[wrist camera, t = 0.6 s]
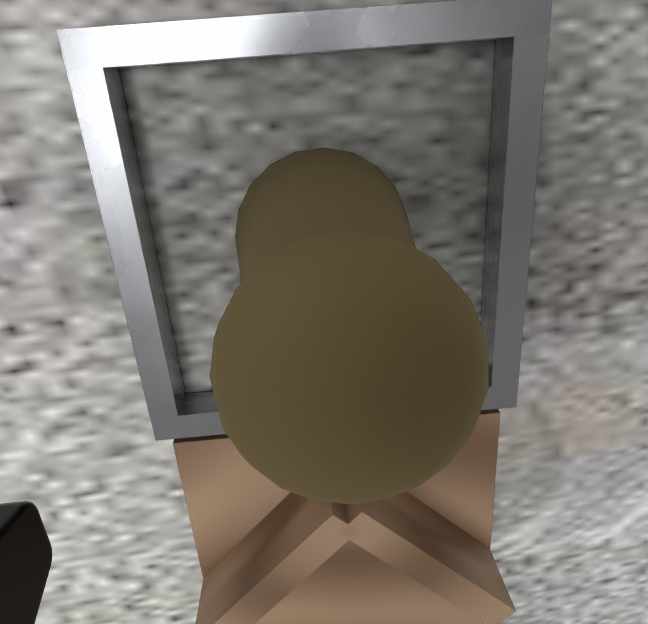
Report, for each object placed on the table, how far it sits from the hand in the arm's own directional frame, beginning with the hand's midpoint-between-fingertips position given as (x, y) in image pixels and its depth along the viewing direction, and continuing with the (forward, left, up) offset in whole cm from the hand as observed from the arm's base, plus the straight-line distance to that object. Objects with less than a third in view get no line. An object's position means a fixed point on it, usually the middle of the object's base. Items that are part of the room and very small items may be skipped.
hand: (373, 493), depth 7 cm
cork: (0, 0, -13) cm, 13 cm away
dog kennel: (-15, 0, -13) cm, 20 cm away
